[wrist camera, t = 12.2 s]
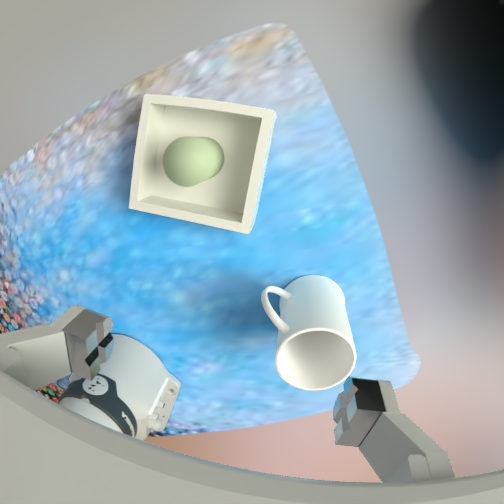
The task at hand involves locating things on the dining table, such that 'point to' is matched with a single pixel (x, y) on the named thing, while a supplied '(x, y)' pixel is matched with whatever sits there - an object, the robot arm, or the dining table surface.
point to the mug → (312, 333)
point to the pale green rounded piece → (192, 160)
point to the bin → (218, 187)
